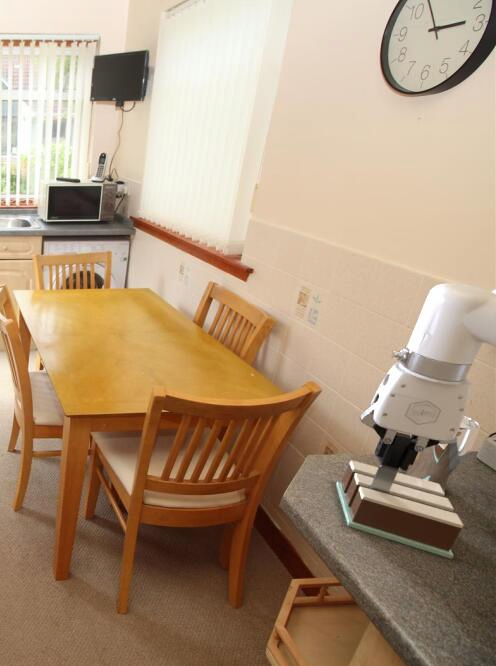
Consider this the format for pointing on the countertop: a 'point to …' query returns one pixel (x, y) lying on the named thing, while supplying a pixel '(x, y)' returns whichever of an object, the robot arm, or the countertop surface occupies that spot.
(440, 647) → the countertop surface
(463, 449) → the beer glass
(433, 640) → the countertop surface
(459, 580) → the countertop surface
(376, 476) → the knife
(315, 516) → the countertop surface
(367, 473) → the slatted panel
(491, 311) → the robot arm
